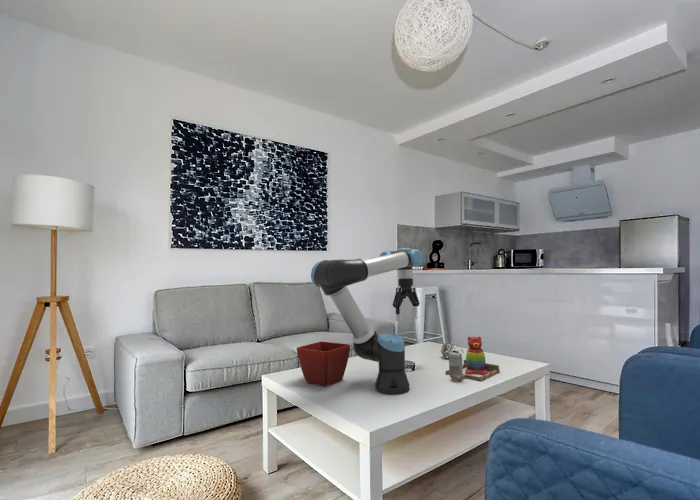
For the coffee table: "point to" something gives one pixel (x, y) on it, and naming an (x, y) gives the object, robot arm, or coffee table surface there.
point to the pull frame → (457, 367)
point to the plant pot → (323, 362)
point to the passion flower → (448, 349)
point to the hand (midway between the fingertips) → (407, 319)
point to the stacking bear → (475, 357)
